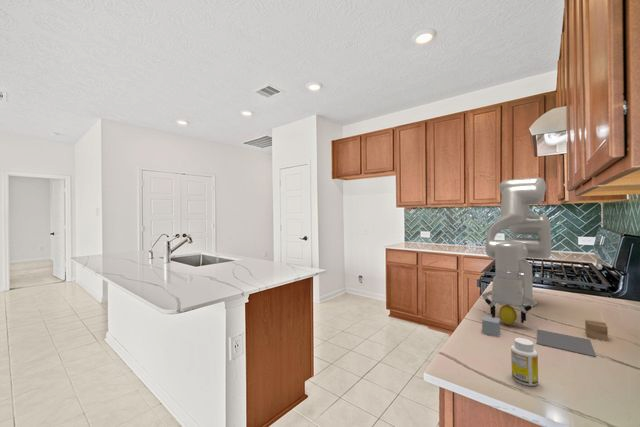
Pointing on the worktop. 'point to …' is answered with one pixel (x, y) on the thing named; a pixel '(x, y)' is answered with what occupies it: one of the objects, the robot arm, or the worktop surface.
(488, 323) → the slate block
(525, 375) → the supplement bottle
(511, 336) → the worktop surface
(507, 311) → the lemon
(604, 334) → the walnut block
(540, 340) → the mat
